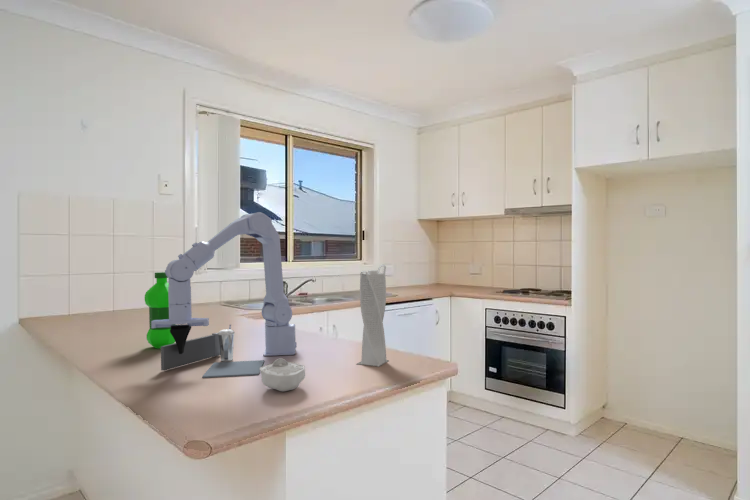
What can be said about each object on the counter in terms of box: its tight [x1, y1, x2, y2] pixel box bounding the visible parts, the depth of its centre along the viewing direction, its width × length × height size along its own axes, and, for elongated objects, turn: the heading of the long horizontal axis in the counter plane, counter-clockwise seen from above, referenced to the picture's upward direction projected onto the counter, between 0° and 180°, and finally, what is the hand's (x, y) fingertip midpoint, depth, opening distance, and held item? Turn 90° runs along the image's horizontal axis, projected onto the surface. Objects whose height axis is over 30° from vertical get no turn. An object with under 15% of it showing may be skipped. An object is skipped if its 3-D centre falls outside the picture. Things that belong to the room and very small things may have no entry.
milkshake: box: [217, 324, 235, 362], centre depth 135 cm, size 4×5×10 cm
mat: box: [201, 359, 265, 379], centre depth 125 cm, size 14×14×1 cm
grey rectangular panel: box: [160, 332, 221, 372], centre depth 132 cm, size 2×20×7 cm, turn 152°
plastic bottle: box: [144, 271, 177, 350], centre depth 154 cm, size 10×10×25 cm
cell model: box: [260, 357, 306, 392], centre depth 107 cm, size 10×12×7 cm
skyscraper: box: [356, 264, 390, 368], centre depth 129 cm, size 8×8×28 cm
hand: (181, 353), depth 126 cm, fingers closed
